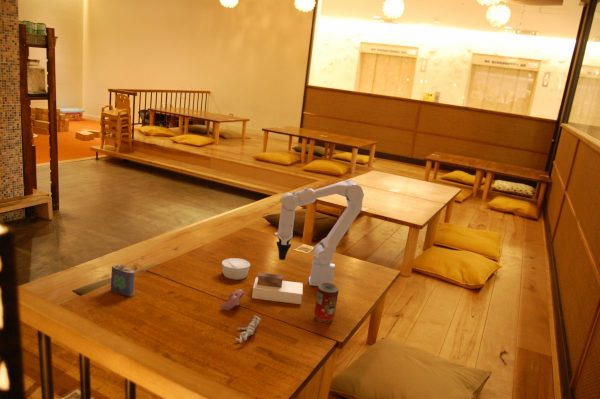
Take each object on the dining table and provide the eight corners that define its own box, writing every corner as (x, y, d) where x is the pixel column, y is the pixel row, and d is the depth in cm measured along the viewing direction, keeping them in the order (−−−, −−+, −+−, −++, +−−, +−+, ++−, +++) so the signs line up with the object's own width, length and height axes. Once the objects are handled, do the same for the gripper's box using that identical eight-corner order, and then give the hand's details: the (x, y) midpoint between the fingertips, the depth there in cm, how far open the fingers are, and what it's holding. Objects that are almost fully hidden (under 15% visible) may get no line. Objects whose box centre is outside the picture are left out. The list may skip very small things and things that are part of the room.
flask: (135, 295, 162) (136, 266, 160) (129, 298, 160) (130, 268, 157) (113, 288, 166) (115, 259, 163) (107, 291, 163) (108, 262, 160)
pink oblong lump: (229, 316, 160) (240, 301, 158) (218, 308, 160) (229, 293, 158) (238, 304, 169) (249, 290, 168) (228, 297, 170) (238, 282, 168)
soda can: (323, 325, 159) (329, 291, 156) (309, 316, 164) (314, 283, 161) (338, 320, 164) (343, 287, 161) (323, 312, 169) (328, 280, 166)
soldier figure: (228, 342, 143) (241, 315, 153) (239, 353, 144) (251, 324, 154) (245, 333, 139) (257, 305, 149) (256, 343, 140) (268, 315, 151)
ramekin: (215, 276, 187) (216, 263, 186) (229, 267, 198) (231, 255, 196) (240, 283, 184) (241, 270, 182) (253, 274, 194) (255, 262, 193)
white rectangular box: (301, 292, 182) (302, 283, 181) (301, 304, 173) (302, 294, 172) (254, 286, 182) (255, 277, 181) (251, 298, 172) (253, 287, 171)
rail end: (280, 291, 179) (283, 275, 177) (280, 295, 175) (282, 278, 174) (257, 288, 178) (259, 272, 177) (256, 292, 175) (258, 275, 174)
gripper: (277, 217, 193) (273, 249, 196) (275, 227, 179) (271, 261, 182) (294, 219, 193) (290, 251, 196) (293, 230, 179) (289, 263, 182)
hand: (282, 256), depth 189 cm, fingers open, 7 cm apart
